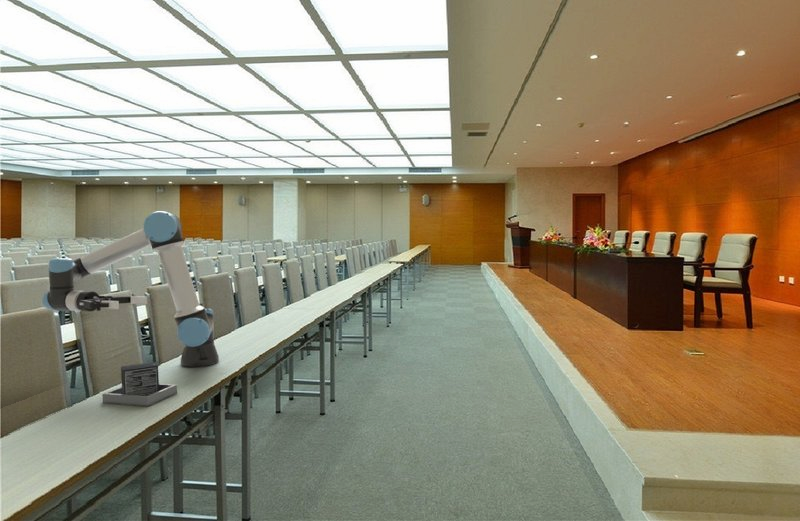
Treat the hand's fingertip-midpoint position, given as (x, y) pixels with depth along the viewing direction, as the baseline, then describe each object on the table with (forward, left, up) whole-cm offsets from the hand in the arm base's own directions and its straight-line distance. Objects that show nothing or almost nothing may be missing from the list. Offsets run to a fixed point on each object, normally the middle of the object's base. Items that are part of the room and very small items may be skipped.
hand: (132, 302), depth 182 cm
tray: (+12, +13, -30) cm, 35 cm away
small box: (+12, +12, -30) cm, 34 cm away
